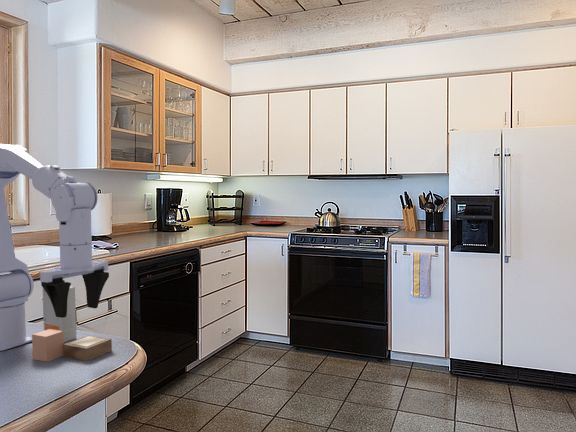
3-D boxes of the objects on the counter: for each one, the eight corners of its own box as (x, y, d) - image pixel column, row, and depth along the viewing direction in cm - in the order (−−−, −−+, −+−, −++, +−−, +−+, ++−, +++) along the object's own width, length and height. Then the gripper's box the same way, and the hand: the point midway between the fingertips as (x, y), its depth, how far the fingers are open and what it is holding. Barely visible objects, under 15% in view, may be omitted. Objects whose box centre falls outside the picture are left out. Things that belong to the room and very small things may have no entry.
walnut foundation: (63, 356, 93) (63, 343, 93) (89, 346, 99) (88, 334, 99) (86, 361, 91) (86, 348, 91) (111, 350, 97) (111, 338, 97)
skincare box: (43, 339, 104) (41, 287, 104) (60, 334, 108) (58, 284, 107) (60, 343, 101) (58, 290, 101) (77, 338, 105) (75, 286, 104)
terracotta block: (32, 358, 92) (31, 334, 92) (50, 352, 96) (49, 328, 96) (46, 361, 91) (45, 336, 90) (63, 355, 94) (63, 331, 94)
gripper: (58, 249, 82) (60, 324, 83) (118, 241, 95) (120, 305, 96) (31, 247, 85) (33, 319, 86) (93, 239, 98) (94, 302, 99)
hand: (77, 312), depth 91 cm, fingers open, 7 cm apart
